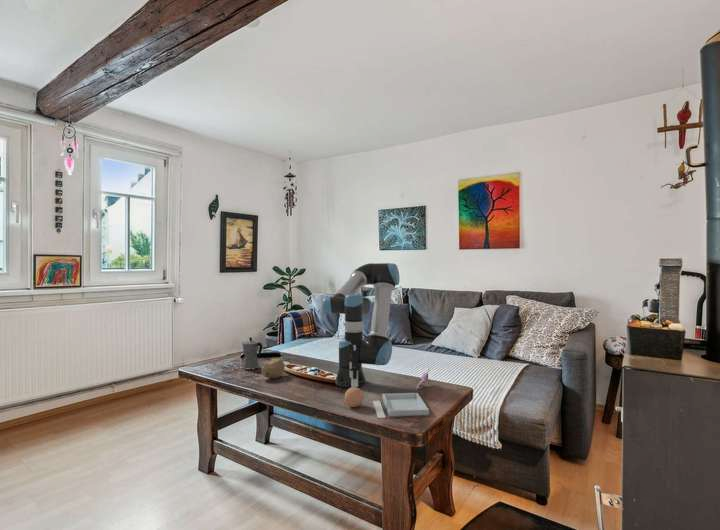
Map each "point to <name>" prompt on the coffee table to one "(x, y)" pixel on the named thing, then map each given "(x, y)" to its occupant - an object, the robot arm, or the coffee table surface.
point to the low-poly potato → (273, 368)
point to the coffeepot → (251, 353)
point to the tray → (404, 405)
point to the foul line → (379, 409)
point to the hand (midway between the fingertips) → (353, 381)
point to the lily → (424, 378)
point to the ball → (354, 397)
